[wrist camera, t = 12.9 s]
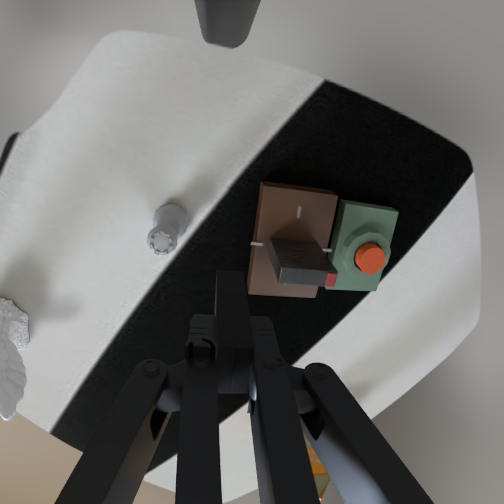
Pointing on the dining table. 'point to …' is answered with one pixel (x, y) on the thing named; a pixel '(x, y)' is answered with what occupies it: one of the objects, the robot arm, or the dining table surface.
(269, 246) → the red-tipped grey box
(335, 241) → the button block
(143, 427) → the robot arm
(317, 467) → the orange juice
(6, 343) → the cherub figurine
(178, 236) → the rook chess piece
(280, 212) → the panel
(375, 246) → the button
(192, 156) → the dining table surface
